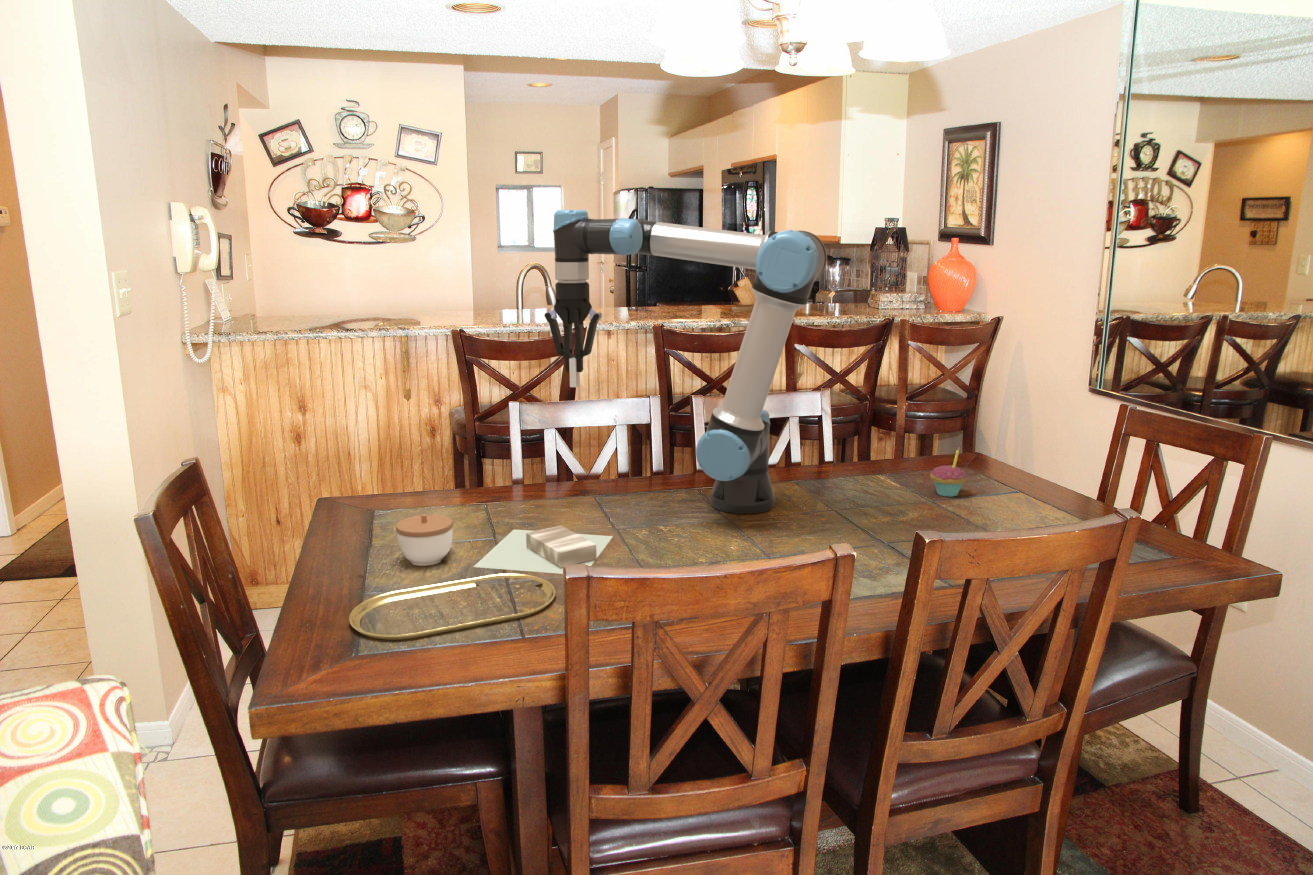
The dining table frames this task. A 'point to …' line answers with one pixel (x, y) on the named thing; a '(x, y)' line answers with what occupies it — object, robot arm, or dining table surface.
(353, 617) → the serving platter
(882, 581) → the dining table surface
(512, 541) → the mat
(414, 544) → the lidded jar
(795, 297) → the robot arm
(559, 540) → the domino
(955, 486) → the cupcake
